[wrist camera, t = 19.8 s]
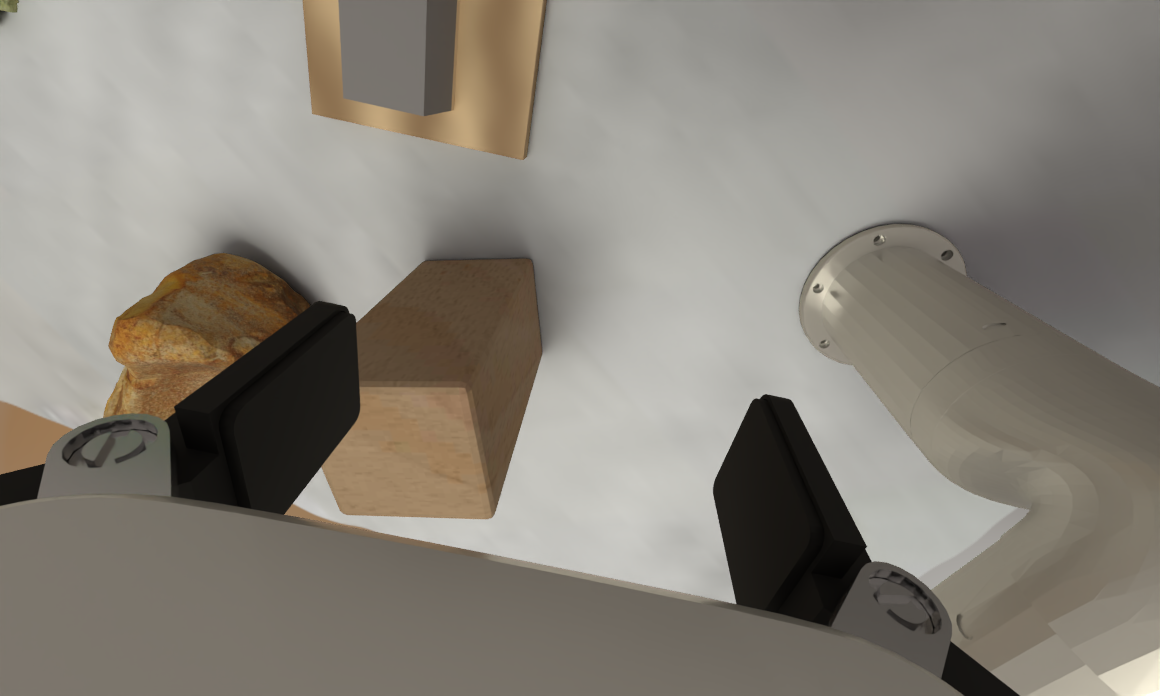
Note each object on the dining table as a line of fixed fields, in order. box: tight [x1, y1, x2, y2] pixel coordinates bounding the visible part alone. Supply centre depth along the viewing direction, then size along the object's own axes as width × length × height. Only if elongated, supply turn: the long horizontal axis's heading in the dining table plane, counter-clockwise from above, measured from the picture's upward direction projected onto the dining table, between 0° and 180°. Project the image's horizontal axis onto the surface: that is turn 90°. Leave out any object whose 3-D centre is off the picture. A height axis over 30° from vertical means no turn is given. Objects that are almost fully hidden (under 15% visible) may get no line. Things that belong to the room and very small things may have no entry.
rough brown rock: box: [103, 253, 310, 420], centre depth 43 cm, size 23×17×15 cm
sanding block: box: [338, 0, 460, 116], centre depth 30 cm, size 5×8×6 cm, turn 169°
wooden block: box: [321, 259, 542, 519], centre depth 36 cm, size 10×10×20 cm
